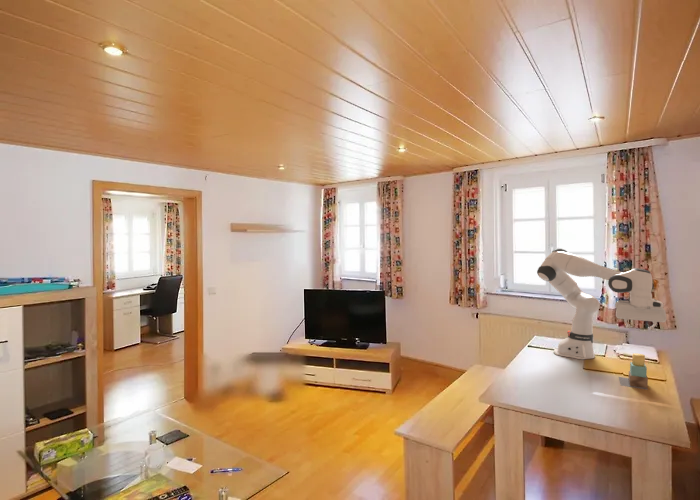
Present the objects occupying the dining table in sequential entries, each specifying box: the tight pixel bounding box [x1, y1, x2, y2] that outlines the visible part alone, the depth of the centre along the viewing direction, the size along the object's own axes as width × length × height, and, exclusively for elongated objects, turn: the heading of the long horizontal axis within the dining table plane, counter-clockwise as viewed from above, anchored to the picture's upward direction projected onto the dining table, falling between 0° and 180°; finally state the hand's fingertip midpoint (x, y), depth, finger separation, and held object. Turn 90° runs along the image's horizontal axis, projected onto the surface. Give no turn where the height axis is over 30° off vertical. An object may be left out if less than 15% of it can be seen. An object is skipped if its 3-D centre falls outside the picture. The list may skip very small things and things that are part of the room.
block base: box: [628, 370, 649, 388], centre depth 198 cm, size 7×7×5 cm
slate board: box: [618, 376, 649, 391], centre depth 200 cm, size 11×13×1 cm
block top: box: [629, 361, 648, 378], centre depth 198 cm, size 6×6×5 cm
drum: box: [631, 353, 646, 367], centre depth 197 cm, size 5×5×5 cm
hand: (639, 329), depth 197 cm, fingers open, 8 cm apart
